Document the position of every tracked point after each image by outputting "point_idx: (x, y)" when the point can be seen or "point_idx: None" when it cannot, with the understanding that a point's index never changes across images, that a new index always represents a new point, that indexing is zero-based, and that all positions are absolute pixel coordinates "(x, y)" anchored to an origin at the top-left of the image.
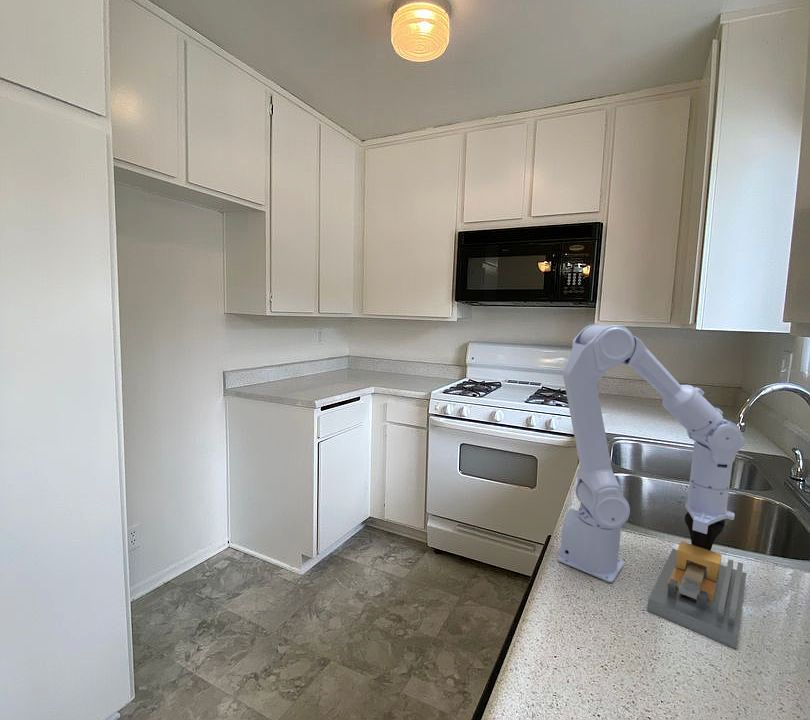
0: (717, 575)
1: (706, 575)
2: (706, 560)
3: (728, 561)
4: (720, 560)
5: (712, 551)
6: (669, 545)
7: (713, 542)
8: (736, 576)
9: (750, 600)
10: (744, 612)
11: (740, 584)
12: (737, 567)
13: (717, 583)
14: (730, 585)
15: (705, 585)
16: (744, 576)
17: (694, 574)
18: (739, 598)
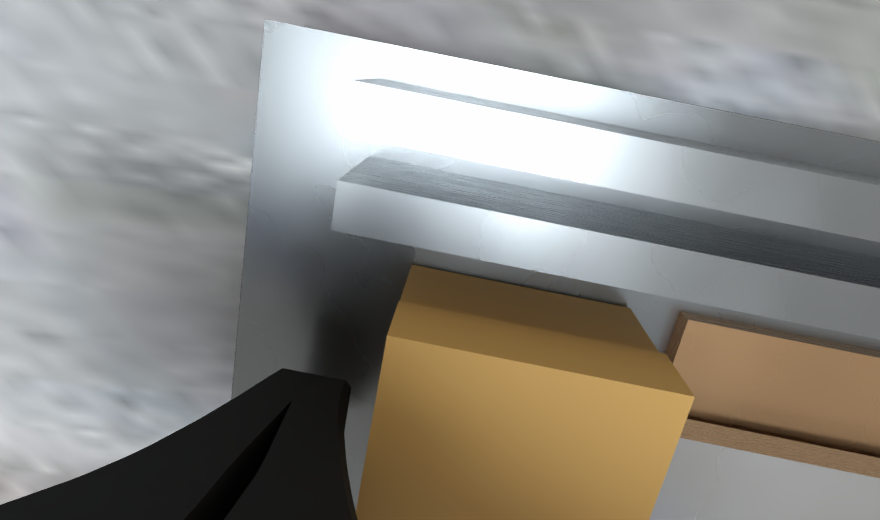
0: (586, 312)
1: None
2: (653, 501)
3: (407, 242)
4: (528, 353)
5: (373, 422)
6: (49, 484)
7: (350, 512)
8: (760, 209)
9: (560, 25)
10: (778, 101)
11: (545, 110)
12: (510, 165)
13: (644, 299)
14: (619, 200)
15: (783, 407)
16: (354, 49)
17: (743, 509)
18: (836, 160)
